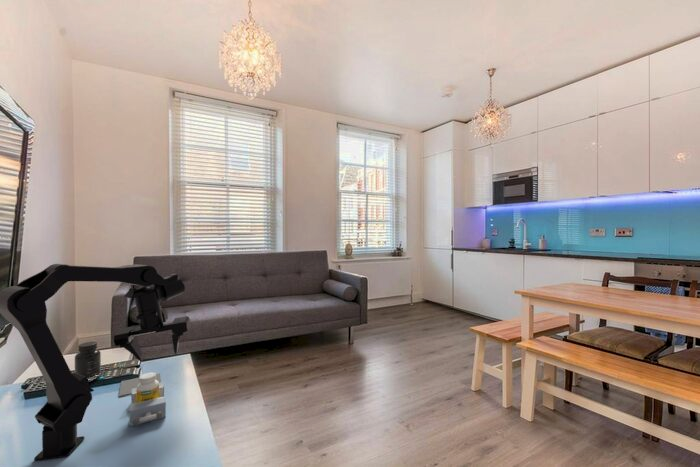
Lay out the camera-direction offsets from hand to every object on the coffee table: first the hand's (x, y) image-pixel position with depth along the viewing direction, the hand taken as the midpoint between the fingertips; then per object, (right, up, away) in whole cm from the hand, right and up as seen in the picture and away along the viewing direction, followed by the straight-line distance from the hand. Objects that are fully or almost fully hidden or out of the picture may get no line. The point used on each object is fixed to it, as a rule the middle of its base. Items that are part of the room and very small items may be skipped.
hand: (159, 356), depth 95 cm
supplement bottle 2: (0, -13, -5) cm, 14 cm away
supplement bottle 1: (-32, -13, +13) cm, 37 cm away
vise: (0, -13, -6) cm, 14 cm away
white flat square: (-11, -13, +9) cm, 20 cm away
